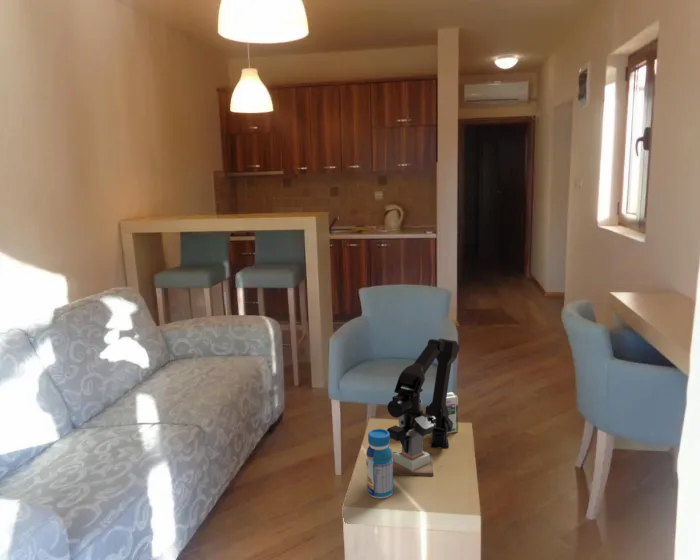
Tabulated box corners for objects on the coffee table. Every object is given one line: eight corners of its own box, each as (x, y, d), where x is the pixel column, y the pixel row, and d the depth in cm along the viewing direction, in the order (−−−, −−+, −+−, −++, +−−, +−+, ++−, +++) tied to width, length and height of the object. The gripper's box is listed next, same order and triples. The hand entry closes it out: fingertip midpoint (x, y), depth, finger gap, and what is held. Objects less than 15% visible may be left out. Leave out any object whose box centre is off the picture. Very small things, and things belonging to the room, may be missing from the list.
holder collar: (394, 461, 195) (394, 453, 194) (412, 453, 200) (412, 445, 200) (412, 470, 188) (412, 462, 188) (430, 462, 193) (429, 454, 193)
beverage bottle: (385, 502, 172) (384, 441, 169) (362, 495, 177) (360, 435, 173) (398, 489, 179) (397, 430, 176) (375, 482, 184) (373, 425, 180)
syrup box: (444, 434, 217) (444, 398, 214) (438, 427, 222) (438, 393, 220) (458, 432, 218) (458, 396, 216) (451, 425, 224) (451, 391, 221)
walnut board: (392, 454, 202) (392, 451, 202) (432, 455, 200) (432, 452, 200) (391, 474, 188) (391, 471, 188) (433, 475, 187) (433, 472, 187)
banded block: (402, 455, 194) (401, 433, 193) (412, 450, 197) (412, 429, 196) (412, 460, 190) (411, 438, 189) (422, 455, 193) (422, 434, 192)
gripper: (408, 422, 179) (409, 468, 182) (448, 406, 190) (448, 449, 193) (384, 412, 187) (386, 455, 190) (424, 397, 199) (424, 438, 202)
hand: (412, 450), depth 193 cm, fingers closed on banded block, 5 cm apart
